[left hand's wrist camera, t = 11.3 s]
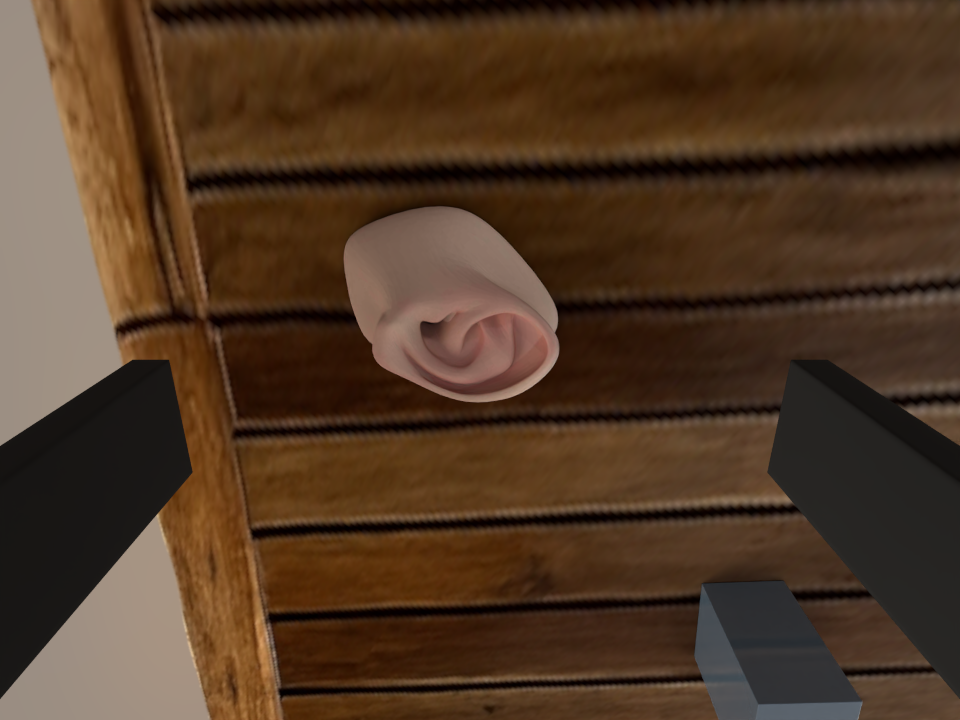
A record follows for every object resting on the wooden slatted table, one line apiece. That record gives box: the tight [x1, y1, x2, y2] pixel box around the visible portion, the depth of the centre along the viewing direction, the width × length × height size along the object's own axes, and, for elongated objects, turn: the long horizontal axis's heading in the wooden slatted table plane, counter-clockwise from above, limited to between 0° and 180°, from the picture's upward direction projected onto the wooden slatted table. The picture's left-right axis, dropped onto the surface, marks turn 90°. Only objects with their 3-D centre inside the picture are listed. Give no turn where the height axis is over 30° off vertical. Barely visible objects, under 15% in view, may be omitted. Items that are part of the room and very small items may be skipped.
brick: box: [694, 581, 862, 720], centre depth 42 cm, size 6×8×10 cm
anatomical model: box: [344, 206, 559, 402], centre depth 35 cm, size 13×4×12 cm
